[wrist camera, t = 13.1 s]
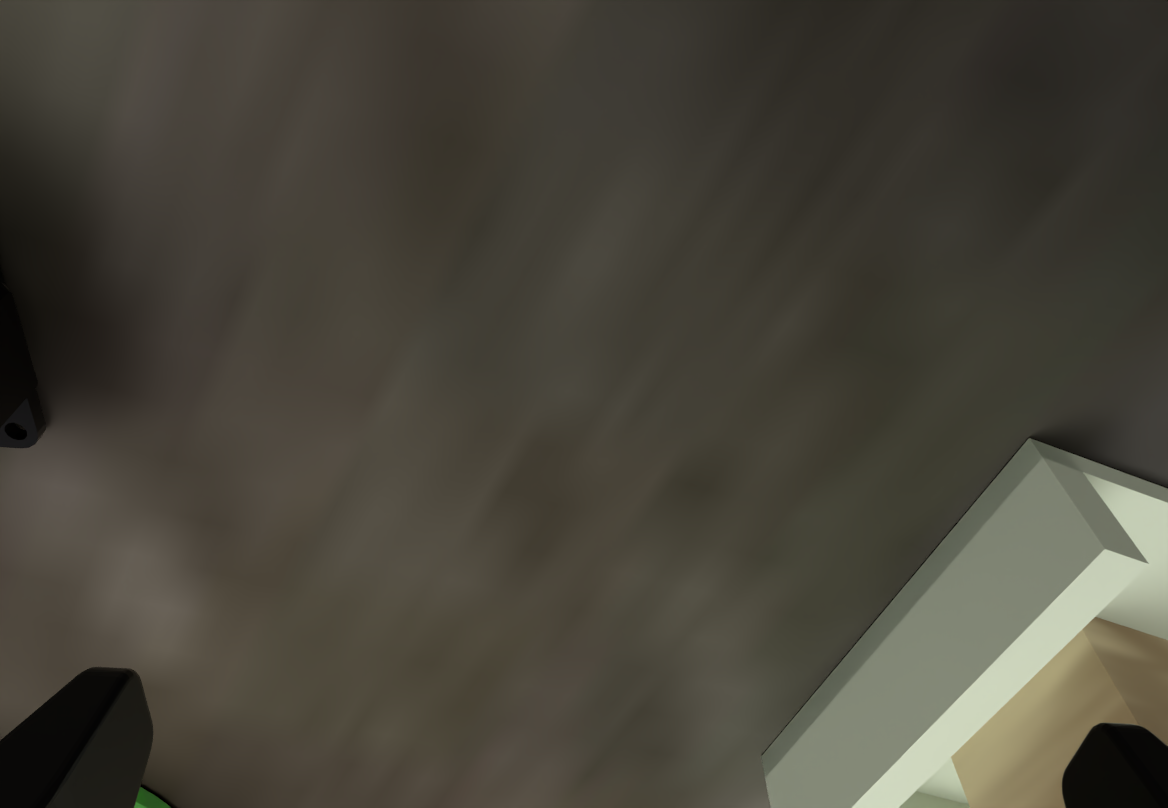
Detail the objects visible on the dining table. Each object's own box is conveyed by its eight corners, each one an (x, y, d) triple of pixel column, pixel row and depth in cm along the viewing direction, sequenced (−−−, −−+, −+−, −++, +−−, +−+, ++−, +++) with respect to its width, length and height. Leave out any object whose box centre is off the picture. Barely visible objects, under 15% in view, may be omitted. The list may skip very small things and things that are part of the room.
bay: (761, 756, 30) (783, 876, 27) (1029, 438, 23) (1105, 549, 20) (1103, 843, 33) (1161, 961, 30) (1435, 586, 26) (1559, 704, 23)
